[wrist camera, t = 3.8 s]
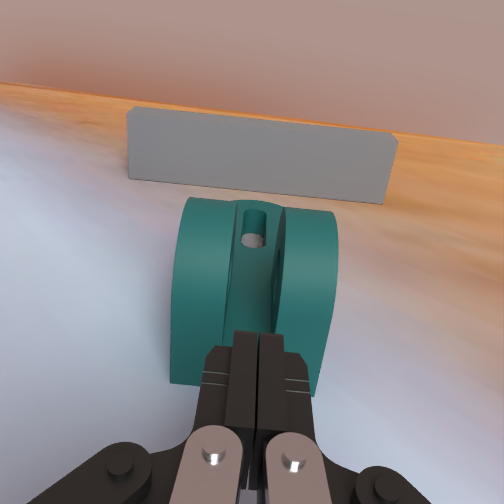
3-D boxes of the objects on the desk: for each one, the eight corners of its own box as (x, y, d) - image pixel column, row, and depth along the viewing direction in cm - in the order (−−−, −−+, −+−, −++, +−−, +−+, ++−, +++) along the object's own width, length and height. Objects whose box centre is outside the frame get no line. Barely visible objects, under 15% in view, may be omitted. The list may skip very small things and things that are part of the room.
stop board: (128, 178, 43) (126, 113, 40) (136, 168, 46) (135, 106, 43) (382, 204, 43) (398, 141, 41) (376, 192, 46) (390, 132, 43)
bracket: (313, 399, 22) (346, 254, 18) (169, 386, 21) (171, 237, 18) (294, 230, 37) (310, 134, 34) (212, 221, 37) (217, 124, 33)
